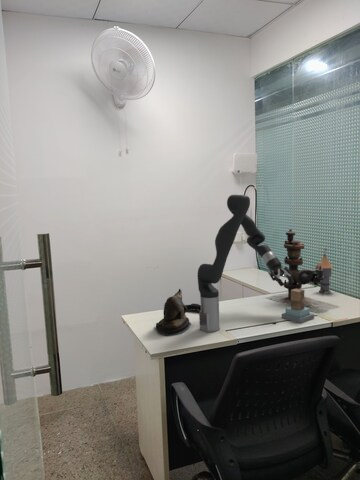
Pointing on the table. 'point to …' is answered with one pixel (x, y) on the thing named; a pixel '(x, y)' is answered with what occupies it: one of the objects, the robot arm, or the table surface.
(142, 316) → the table surface
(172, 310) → the sculpture
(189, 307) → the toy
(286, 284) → the valve
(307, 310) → the tower top slab
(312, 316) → the tower base slab
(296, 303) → the walnut pillar
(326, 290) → the model tower
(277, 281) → the robot arm
